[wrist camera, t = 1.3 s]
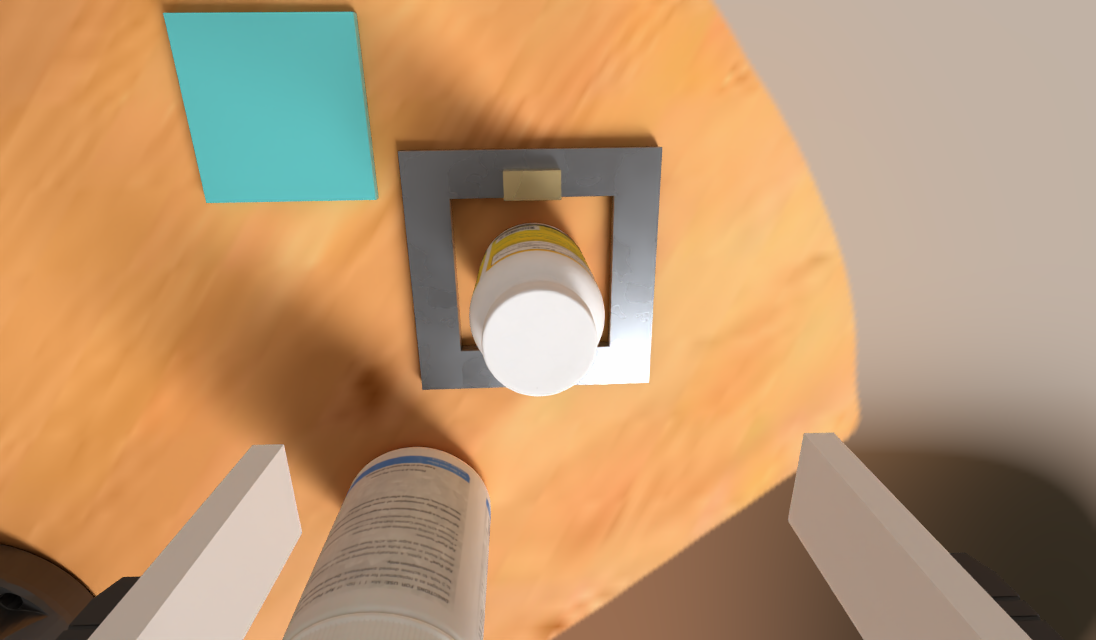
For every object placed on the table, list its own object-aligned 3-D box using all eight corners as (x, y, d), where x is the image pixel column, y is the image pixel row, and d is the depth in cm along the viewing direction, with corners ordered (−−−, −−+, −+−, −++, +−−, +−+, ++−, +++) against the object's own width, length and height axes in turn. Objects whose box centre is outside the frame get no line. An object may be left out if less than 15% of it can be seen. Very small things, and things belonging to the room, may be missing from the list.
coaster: (212, 201, 30) (206, 202, 29) (170, 15, 27) (163, 12, 26) (378, 198, 30) (375, 199, 29) (356, 13, 27) (353, 11, 26)
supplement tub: (321, 488, 36) (199, 711, 23) (432, 414, 35) (373, 606, 21) (415, 577, 39) (356, 822, 26) (521, 513, 38) (520, 737, 24)
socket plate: (424, 383, 34) (419, 399, 32) (400, 150, 29) (392, 152, 27) (646, 376, 35) (653, 391, 33) (658, 146, 30) (667, 148, 28)
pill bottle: (542, 341, 33) (551, 440, 23) (460, 282, 32) (429, 360, 22) (607, 263, 32) (648, 332, 22) (523, 198, 30) (524, 238, 20)
